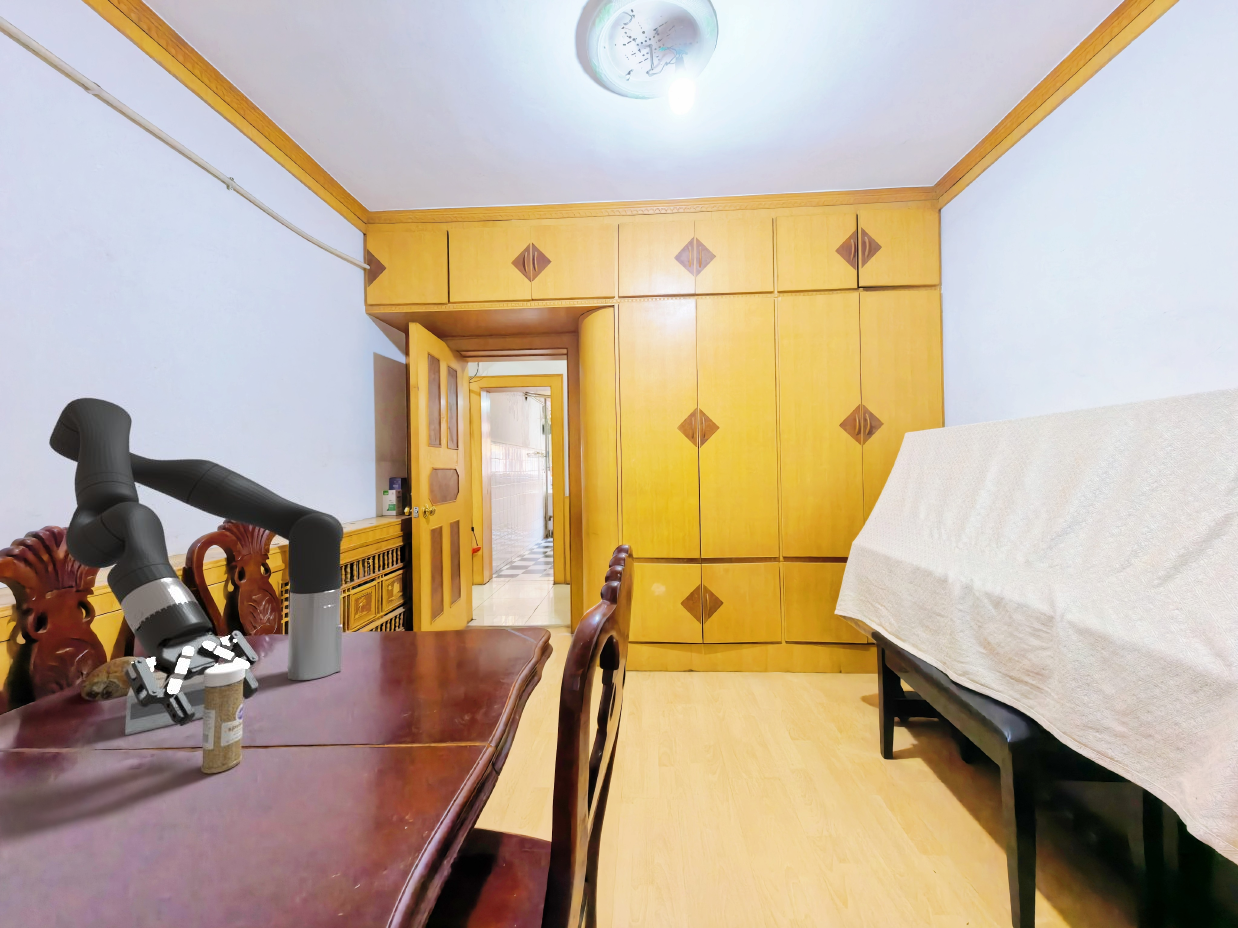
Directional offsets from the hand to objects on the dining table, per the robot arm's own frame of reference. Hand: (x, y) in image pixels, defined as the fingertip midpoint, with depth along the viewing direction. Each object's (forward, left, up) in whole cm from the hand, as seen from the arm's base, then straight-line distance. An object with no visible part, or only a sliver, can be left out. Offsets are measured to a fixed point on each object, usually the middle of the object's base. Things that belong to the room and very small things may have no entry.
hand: (222, 707), depth 69 cm
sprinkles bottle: (0, 0, -8) cm, 8 cm away
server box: (+5, -26, -8) cm, 28 cm away
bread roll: (+15, -47, -8) cm, 50 cm away
